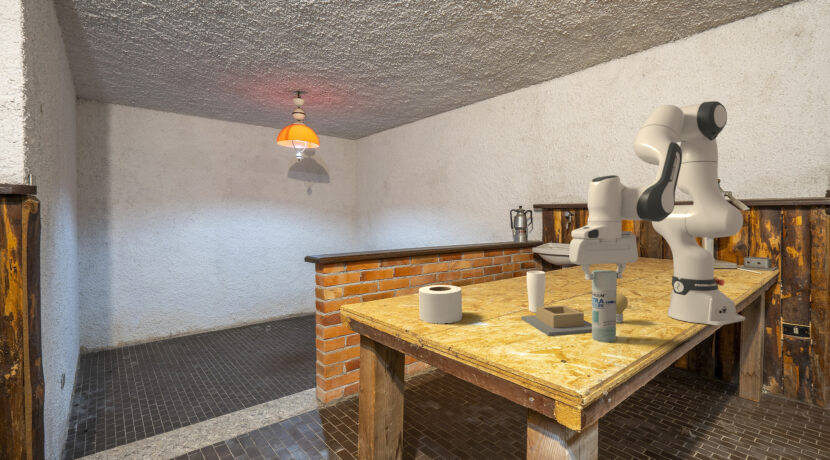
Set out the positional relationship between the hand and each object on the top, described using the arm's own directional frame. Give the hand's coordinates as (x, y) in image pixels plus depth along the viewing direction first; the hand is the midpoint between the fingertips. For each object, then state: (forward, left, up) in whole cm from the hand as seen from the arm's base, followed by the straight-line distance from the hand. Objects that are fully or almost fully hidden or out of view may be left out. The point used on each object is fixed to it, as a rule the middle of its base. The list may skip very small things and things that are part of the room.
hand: (603, 278), depth 107 cm
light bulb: (-15, -13, -18) cm, 27 cm away
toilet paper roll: (+41, -33, -18) cm, 56 cm away
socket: (+5, -15, -18) cm, 24 cm away
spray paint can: (0, 0, -18) cm, 18 cm away
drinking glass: (+4, -32, -18) cm, 37 cm away
